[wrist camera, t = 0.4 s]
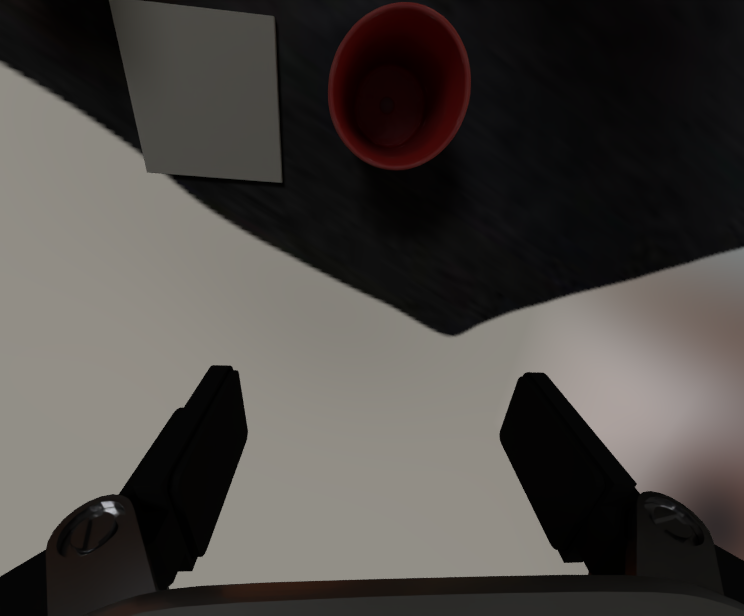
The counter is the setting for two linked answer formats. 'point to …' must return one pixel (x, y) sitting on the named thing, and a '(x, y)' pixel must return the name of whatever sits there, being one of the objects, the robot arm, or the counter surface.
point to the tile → (202, 89)
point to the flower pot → (399, 86)
